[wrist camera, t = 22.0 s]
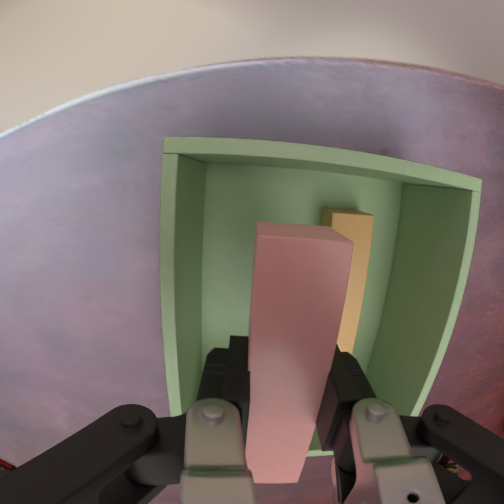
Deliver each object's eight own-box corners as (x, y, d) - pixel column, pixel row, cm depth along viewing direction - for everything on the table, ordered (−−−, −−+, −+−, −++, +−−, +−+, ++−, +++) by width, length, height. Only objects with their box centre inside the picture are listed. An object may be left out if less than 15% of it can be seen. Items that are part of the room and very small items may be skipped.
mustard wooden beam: (321, 207, 17) (332, 211, 15) (359, 210, 17) (374, 215, 15) (305, 356, 20) (311, 376, 17) (338, 355, 20) (347, 374, 17)
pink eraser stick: (256, 220, 10) (257, 234, 7) (330, 226, 10) (354, 242, 7) (240, 443, 12) (239, 482, 10) (292, 443, 12) (297, 482, 10)
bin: (199, 152, 17) (163, 136, 10) (406, 175, 17) (482, 179, 10) (195, 373, 21) (175, 450, 13) (367, 376, 21) (402, 444, 14)
